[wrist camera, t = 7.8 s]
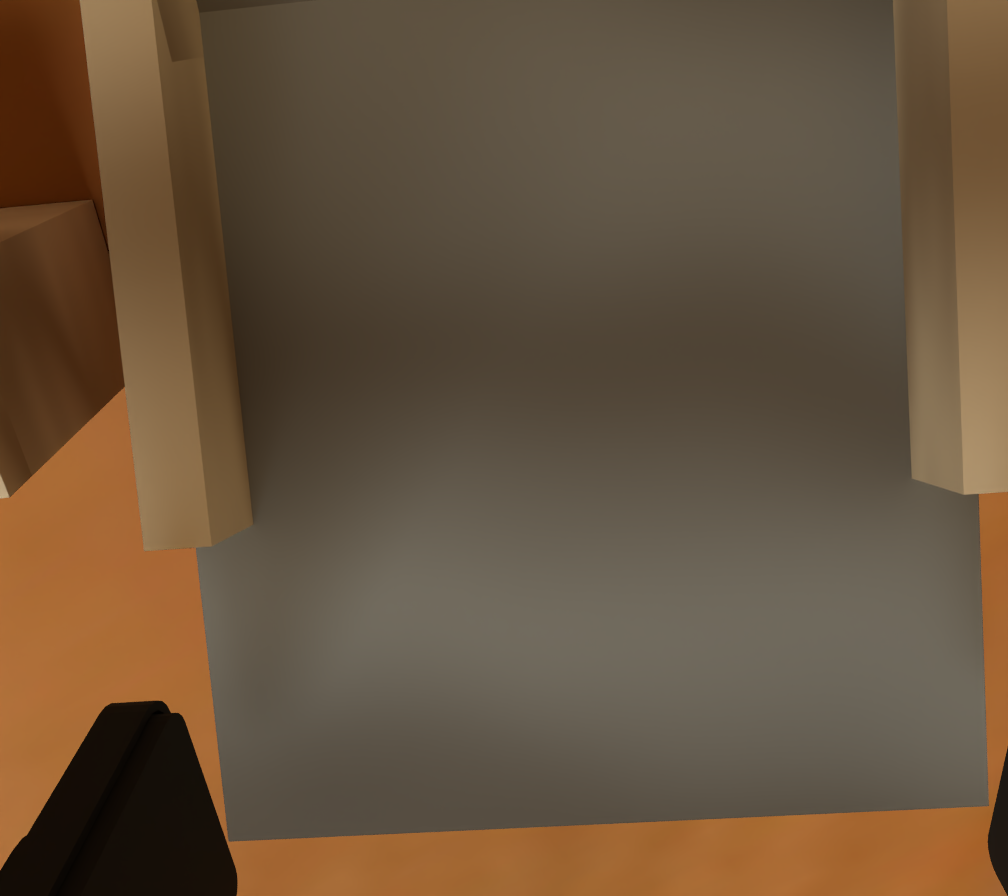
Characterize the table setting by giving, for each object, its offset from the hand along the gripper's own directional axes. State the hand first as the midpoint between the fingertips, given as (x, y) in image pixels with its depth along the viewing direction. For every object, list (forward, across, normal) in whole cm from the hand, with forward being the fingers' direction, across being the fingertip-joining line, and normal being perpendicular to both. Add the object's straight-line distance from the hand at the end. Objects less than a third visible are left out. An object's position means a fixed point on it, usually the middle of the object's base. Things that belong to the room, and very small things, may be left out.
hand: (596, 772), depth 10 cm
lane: (+7, 0, -13) cm, 15 cm away
